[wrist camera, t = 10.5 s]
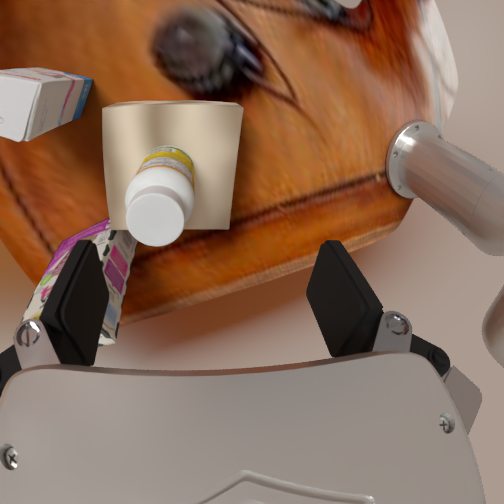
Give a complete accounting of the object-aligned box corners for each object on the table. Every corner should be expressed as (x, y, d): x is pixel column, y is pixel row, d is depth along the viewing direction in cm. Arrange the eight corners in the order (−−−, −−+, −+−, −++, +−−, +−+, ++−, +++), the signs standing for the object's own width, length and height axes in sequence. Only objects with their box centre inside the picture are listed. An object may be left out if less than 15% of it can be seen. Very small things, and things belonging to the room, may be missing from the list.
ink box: (96, 76, 20) (42, 82, 11) (81, 118, 23) (27, 147, 13) (38, 65, 17) (-25, 73, 8) (26, 104, 19) (-36, 130, 10)
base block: (235, 103, 26) (243, 107, 22) (224, 208, 33) (229, 229, 30) (116, 102, 23) (102, 108, 19) (120, 208, 30) (111, 230, 26)
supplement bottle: (164, 133, 22) (147, 165, 14) (206, 167, 25) (213, 215, 17) (129, 176, 24) (102, 227, 16) (170, 206, 26) (163, 267, 19)
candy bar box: (121, 208, 30) (84, 308, 18) (139, 239, 34) (120, 344, 21) (59, 239, 31) (14, 333, 18) (78, 265, 34) (46, 360, 21)
